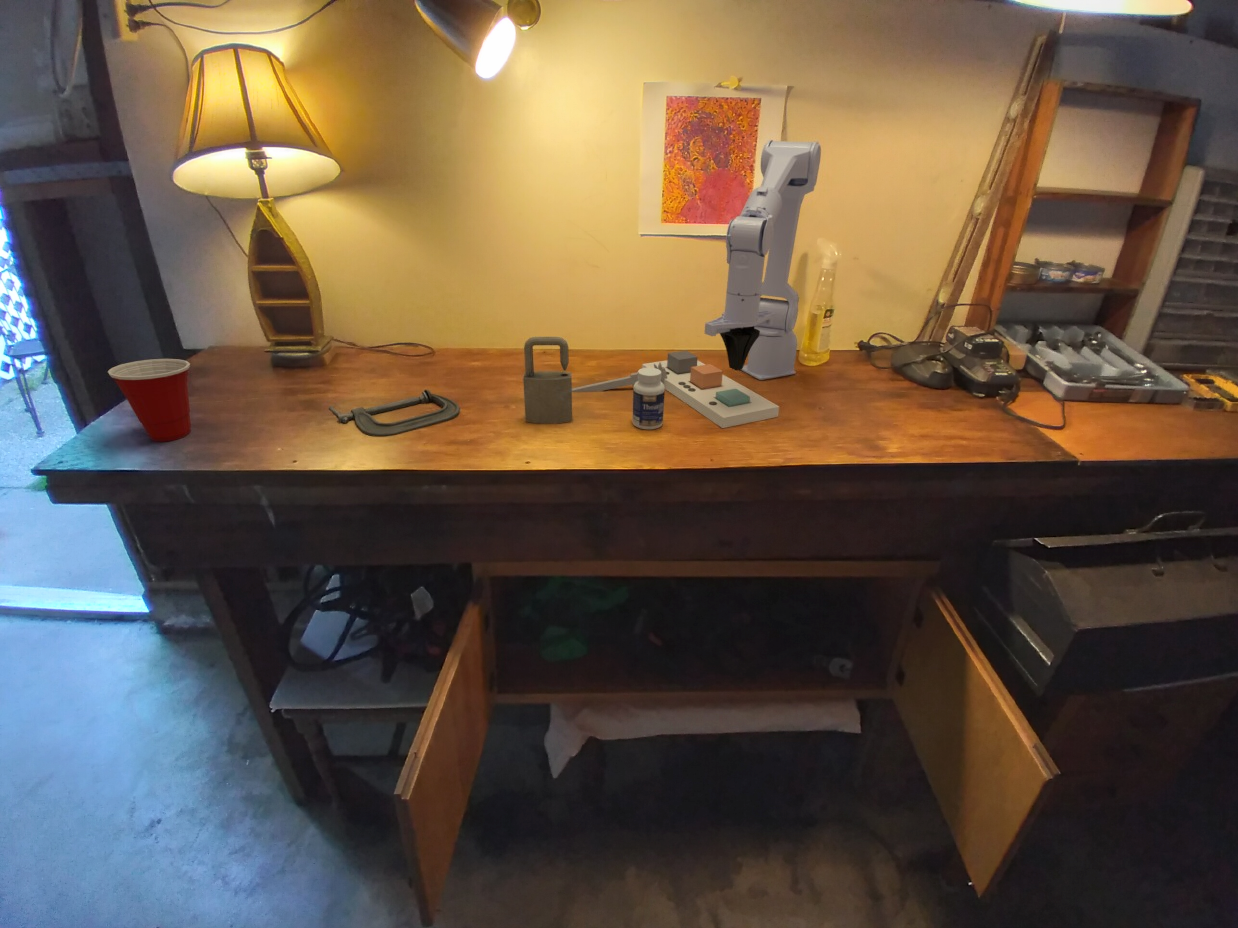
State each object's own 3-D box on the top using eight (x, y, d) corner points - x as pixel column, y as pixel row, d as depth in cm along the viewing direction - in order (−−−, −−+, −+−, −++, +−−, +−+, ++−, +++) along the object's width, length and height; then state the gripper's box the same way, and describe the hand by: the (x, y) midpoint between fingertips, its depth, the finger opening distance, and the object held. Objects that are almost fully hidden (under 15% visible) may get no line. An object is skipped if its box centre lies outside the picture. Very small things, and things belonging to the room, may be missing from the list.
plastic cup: (224, 424, 113) (204, 357, 107) (172, 452, 103) (147, 380, 98) (172, 417, 115) (150, 351, 109) (116, 443, 106) (89, 373, 100)
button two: (685, 364, 137) (686, 350, 136) (696, 371, 134) (697, 357, 132) (667, 367, 135) (667, 353, 134) (677, 374, 132) (678, 359, 131)
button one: (734, 403, 124) (735, 388, 122) (748, 411, 120) (750, 396, 119) (714, 407, 122) (716, 392, 121) (728, 415, 119) (729, 400, 117)
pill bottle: (641, 432, 112) (643, 379, 108) (626, 421, 116) (628, 368, 112) (668, 427, 114) (671, 374, 110) (653, 415, 119) (655, 364, 114)
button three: (708, 378, 130) (710, 364, 129) (721, 385, 127) (722, 371, 125) (689, 381, 128) (690, 367, 127) (702, 389, 125) (703, 374, 124)
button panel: (690, 365, 143) (691, 355, 142) (777, 416, 119) (779, 405, 118) (641, 373, 138) (642, 363, 137) (722, 428, 114) (723, 417, 113)
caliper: (665, 391, 132) (666, 361, 129) (666, 393, 131) (668, 363, 128) (564, 395, 129) (563, 365, 126) (564, 397, 128) (563, 367, 125)
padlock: (572, 423, 115) (570, 340, 108) (525, 424, 115) (520, 340, 108) (572, 414, 119) (570, 333, 112) (526, 414, 118) (522, 333, 111)
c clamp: (351, 448, 107) (348, 433, 106) (328, 411, 120) (325, 397, 118) (469, 421, 117) (468, 407, 115) (437, 390, 129) (435, 377, 128)
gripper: (757, 282, 118) (749, 355, 124) (695, 292, 110) (690, 369, 117) (787, 290, 113) (776, 366, 119) (723, 301, 105) (716, 381, 112)
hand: (735, 368), depth 118 cm, fingers closed
